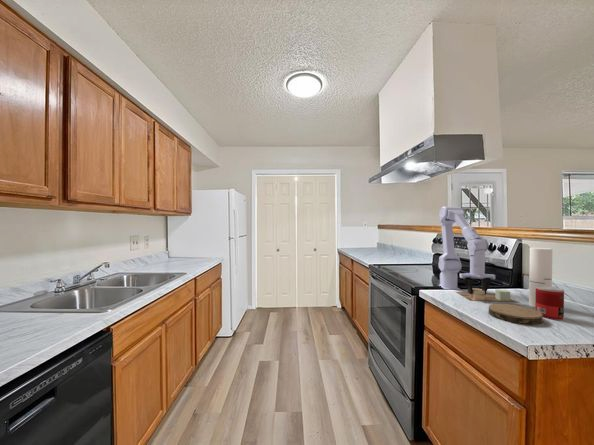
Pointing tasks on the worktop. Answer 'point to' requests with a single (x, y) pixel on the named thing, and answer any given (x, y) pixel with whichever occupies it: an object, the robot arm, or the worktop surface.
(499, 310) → the wood slice
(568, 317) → the worktop surface
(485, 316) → the worktop surface
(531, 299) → the cylindrical container
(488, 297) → the brown flat board
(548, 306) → the canned food
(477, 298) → the maple brick
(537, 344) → the worktop surface
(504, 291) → the sage cube
